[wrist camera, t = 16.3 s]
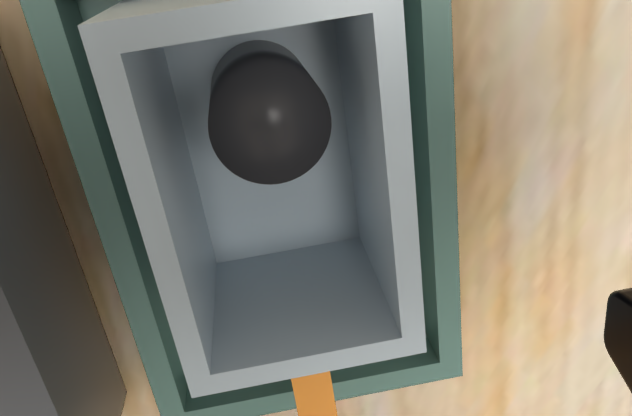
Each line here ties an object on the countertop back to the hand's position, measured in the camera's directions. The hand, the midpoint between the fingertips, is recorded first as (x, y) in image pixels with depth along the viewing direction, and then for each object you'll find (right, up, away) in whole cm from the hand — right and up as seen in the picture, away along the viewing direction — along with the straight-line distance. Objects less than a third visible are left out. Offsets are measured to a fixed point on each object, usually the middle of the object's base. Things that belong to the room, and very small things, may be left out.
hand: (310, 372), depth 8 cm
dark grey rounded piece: (-2, +6, +8) cm, 10 cm away
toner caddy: (-1, +3, +10) cm, 11 cm away
